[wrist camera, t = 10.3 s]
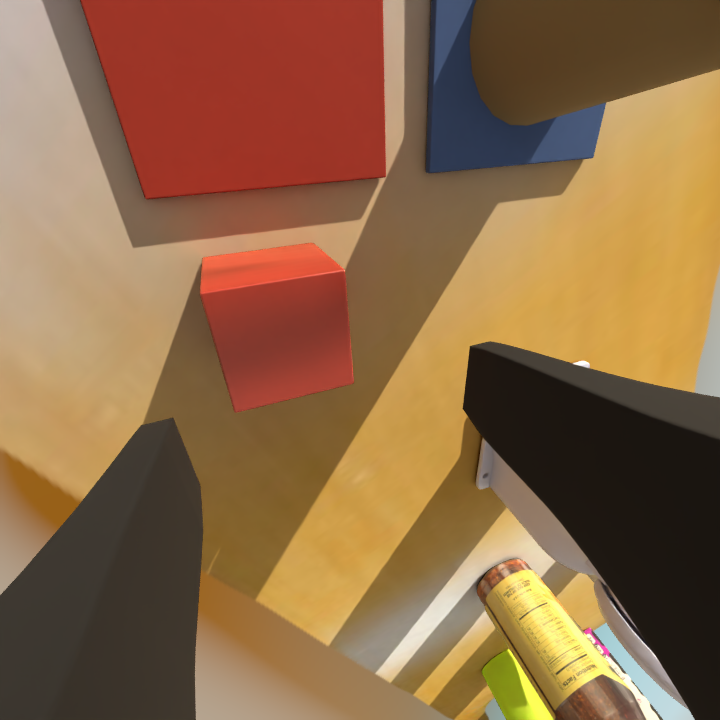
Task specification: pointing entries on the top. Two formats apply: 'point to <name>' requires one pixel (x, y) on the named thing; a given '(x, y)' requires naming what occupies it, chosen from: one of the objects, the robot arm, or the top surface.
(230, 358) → the red block
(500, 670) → the soap dispenser
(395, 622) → the top surface
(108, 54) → the red mat
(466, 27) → the blue mat
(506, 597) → the sauce bottle
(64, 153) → the top surface
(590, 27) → the cork
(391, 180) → the top surface
